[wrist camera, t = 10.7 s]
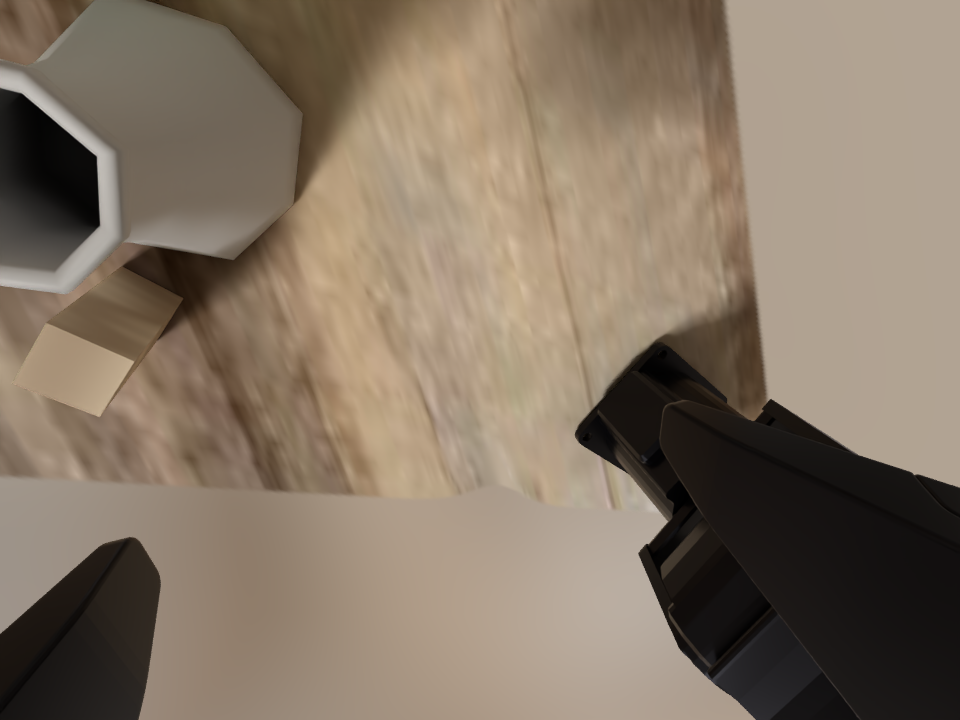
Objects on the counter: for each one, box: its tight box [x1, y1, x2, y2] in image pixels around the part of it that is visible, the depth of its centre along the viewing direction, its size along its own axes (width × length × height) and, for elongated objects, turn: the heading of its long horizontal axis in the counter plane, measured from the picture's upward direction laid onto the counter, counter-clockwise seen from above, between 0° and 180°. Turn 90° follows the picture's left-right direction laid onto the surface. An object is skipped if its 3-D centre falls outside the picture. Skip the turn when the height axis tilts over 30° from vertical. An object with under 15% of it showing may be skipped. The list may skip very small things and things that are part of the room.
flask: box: [0, 0, 303, 294], centre depth 11 cm, size 7×7×10 cm
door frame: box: [12, 266, 184, 417], centre depth 13 cm, size 2×19×5 cm, turn 139°
